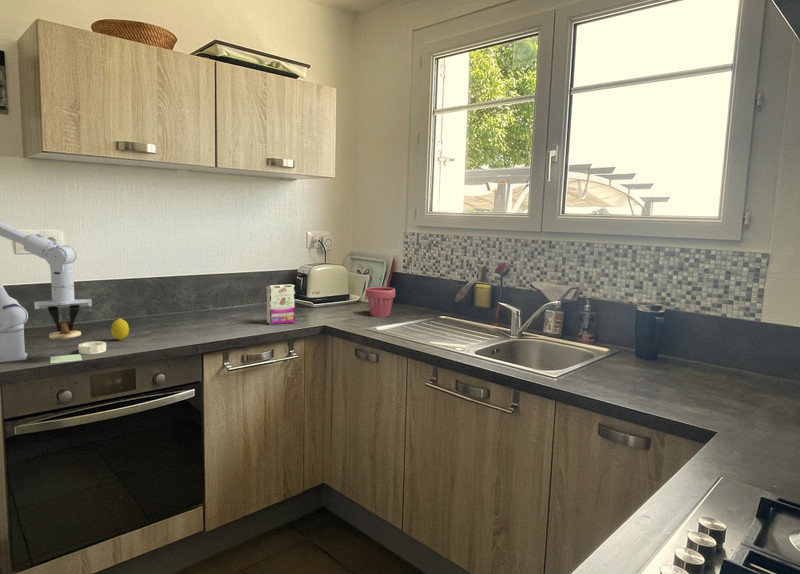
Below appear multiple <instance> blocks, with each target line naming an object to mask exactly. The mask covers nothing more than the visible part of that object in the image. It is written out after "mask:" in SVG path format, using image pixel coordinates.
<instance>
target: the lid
mask: <svg viewBox="0 0 800 574" xmlns="http://www.w3.org/2000/svg"><path fill="white" fill-rule="evenodd" d="M59 326H60V332H57V331H53V332H50V333H49V334H48V338H49V339H53V340H64V339H73V338H77V337H80V336H81V335H82V332H81V331H80V330H73V331H70V320H65V321H63V320H62V321H59Z"/></svg>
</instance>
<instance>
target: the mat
mask: <svg viewBox="0 0 800 574" xmlns="http://www.w3.org/2000/svg"><path fill="white" fill-rule="evenodd" d="M49 360H50V361H49V362H50V364H56V363H57V364H58V363H60V364H61V363H68V362H77V361H83V359H82V354H80V353H77V354H70V355H68V354H67V355H57V356H50V359H49Z"/></svg>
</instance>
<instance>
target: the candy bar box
mask: <svg viewBox="0 0 800 574" xmlns="http://www.w3.org/2000/svg"><path fill="white" fill-rule="evenodd" d="M266 323H267V324H268V323H269V324H268V325H270V326H273V325H272V324H276V325H284V324H283V323H287V324H295V323H296V285H294V284H293V283H292V284H274V285H272V284H270V285H266Z"/></svg>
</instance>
